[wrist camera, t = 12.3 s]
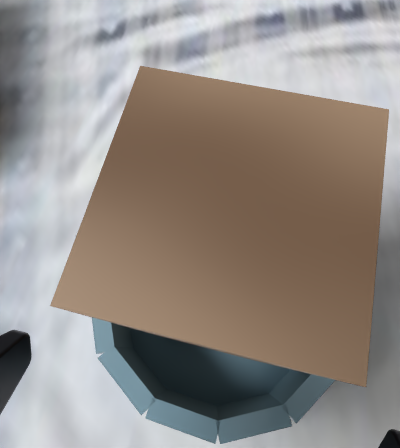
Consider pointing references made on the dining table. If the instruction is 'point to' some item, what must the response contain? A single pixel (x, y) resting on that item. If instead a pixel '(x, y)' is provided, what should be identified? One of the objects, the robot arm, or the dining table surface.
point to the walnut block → (237, 223)
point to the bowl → (203, 385)
